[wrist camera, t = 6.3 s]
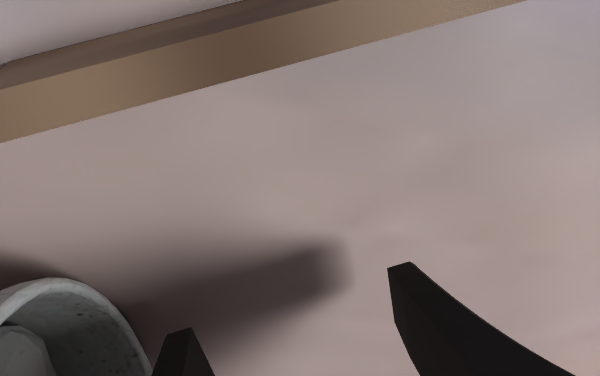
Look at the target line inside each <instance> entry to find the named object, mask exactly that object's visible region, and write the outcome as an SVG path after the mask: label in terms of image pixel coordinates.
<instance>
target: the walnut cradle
mask: <svg viewBox="0 0 600 376" xmlns="http://www.w3.org/2000/svg"><path fill="white" fill-rule="evenodd" d="M522 1H526V0H243V1H240V2H236V3H232V4H228V5H224V6H220V7H217V8H213V9H209V10H205V11H201V12H197V13H194V14H190V15H186V16H182V17H178V18H174V19H170V20H167V21H163V22H159V23H155V24H151V25H147V26H144V27H140V28H136V29H132V30H128V31H124V32H121V33H117V34H113V35H109V36H105V37H101V38H98V39H94V40H90V41H86V42H82V43H78V44H75V45H71V46H67V47H63V48H59V49H55V50H51V51H48V52H44V53H40V54H36V55H32V56H28V57H25V58H21V59H17V60H13V61H10V62H9V63H7V64H6V65H4V66H3V67H2V68H0V143H2V142H6V141H10V140H13V139H17V138H21V137H24V136H28V135H32V134H35V133H39V132H43V131H46V130H50V129H54V128H57V127H61V126H65V125H69V124H72V123H76V122H80V121H83V120H87V119H91V118H94V117H98V116H102V115H105V114H109V113H113V112H116V111H120V110H124V109H128V108H131V107H135V106H139V105H142V104H146V103H150V102H153V101H157V100H161V99H164V98H168V97H172V96H175V95H179V94H183V93H187V92H190V91H194V90H198V89H201V88H205V87H209V86H212V85H216V84H220V83H223V82H227V81H231V80H234V79H238V78H242V77H246V76H249V75H253V74H257V73H260V72H264V71H268V70H271V69H275V68H279V67H282V66H286V65H290V64H293V63H297V62H301V61H305V60H308V59H312V58H316V57H319V56H323V55H327V54H330V53H334V52H338V51H341V50H345V49H349V48H352V47H356V46H360V45H363V44H367V43H371V42H375V41H378V40H382V39H386V38H389V37H393V36H397V35H400V34H404V33H408V32H411V31H415V30H419V29H422V28H426V27H430V26H434V25H437V24H441V23H445V22H448V21H452V20H456V19H459V18H463V17H467V16H470V15H474V14H478V13H481V12H485V11H489V10H493V9H496V8H500V7H504V6H507V5H511V4H515V3H518V2H522Z"/></svg>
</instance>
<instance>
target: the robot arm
mask: <svg viewBox="0 0 600 376" xmlns="http://www.w3.org/2000/svg"><path fill="white" fill-rule="evenodd" d="M387 271H388V278H389V285H390V292H391V299H392V306H393V314H394V321H395V324H396V326H397V329H398V331H399V333H400V336H401V338H402V340H403V343H404V345H405V347H406V349H407V352H408V354H409V356H410V358H411V360H412V362H413V364H414V365H415V367H416V369H417V371H418V373H419V374H420V376H575V375H573V374H571V373H570V372H568V371H566V370H564V369H562V368H560V367H559V366H557V365H555V364H553V363H551V362H549V361H548V360H546V359H544V358H543V357H541V356H539V355H537V354H536V353H534V352H532V351H531V350H529V349H527V348H526V347H524V346H522V345H521V344H519V343H518V342H516V341H514V340H513V339H511V338H510V337H508V336H507V335H505V334H504V333H502V332H501V331H499V330H498V329H496V328H495V327H493V326H492V325H490V324H489V323H488V322H486V321H485V320H483V319H482V318H480V317H479V316H478V315H476V314H475V313H474V312H472V311H471V310H470V309H468V308H467V307H466V306H464V305H463V304H462V303H460V302H459V301H458V300H456V299H455V298H454V297H452V296H451V295H450V294H449V293H447V292H446V291H445V290H444V289H443V288H441V287H440V286H439V285H438V284H436V283H435V282H434V281H433V280H432V279H430V278H429V277H428V276H427V275H426V274H425V273H424V272H422V271H421V270H420V269H419V268H418V267H417V266H416V265H415V264H413V263H411V262H410V261H409V262H406V263H403V264H399V265H396V266H393V267H389V268H387ZM151 376H215V375H214V373H213V371H212V369H211V367H210V365H209V363H208V360H207V358H206V356H205V354H204V352H203V350H202V348H201V346H200V344H199V342H198V340H197V338H196V336H195V334H194V332H193V330H192V328H187V329H184V330H181V331H177V332H174V333H171V334H168V335H167V337H166V338H165V340H164V343H163V346H162V348H161V351H160V354H159V357H158V359H157V362H156V364H155V367H154V370H153V372H152V375H151Z"/></svg>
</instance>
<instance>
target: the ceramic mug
mask: <svg viewBox="0 0 600 376" xmlns="http://www.w3.org/2000/svg"><path fill="white" fill-rule="evenodd" d="M152 372H153V370H152V368H151V365H150V362H149V360H148V358H147V356H146V354H145V352H144V350H143V348H142V346H141V344H140V342H139V340H138V339H137V337H136V336H135V334H134V332H133V330H132V329H131V327H130V325H129V324H128V322H127V321H126V320H125V318H124V317H123V316H122V314H121V313H120V312H119V311H118V309H117V308H116V307H115V306H114V305H113V304H111V303H110V301H109V300H108V299H107V298H106V297H105V296H104V295H102V294H101V293H99V292H98V291H96V290H95V289H93V288H92V287H90V286H89V285H87V284H84V283H81V282H78V281H75V280H71V279H68V278H55V277H47V278H42V279H37V280H32V281H27V282H22V283H19V284H16V285H14V286H11V287H8V288H6V289H3V290H1V291H0V376H151V375H152Z"/></svg>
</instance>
